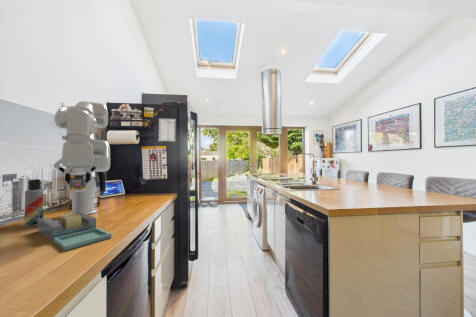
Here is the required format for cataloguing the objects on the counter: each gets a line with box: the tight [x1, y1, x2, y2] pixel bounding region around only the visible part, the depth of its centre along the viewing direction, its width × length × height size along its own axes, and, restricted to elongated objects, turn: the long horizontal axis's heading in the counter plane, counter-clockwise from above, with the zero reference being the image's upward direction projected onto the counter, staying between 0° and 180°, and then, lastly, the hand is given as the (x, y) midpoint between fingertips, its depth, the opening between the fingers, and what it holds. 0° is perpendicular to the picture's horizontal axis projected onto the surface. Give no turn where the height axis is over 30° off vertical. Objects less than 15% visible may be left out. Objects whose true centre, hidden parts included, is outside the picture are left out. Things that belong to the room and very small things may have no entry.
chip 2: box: [63, 215, 81, 228], centre depth 76 cm, size 4×4×4 cm
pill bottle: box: [68, 167, 87, 193], centre depth 83 cm, size 6×6×10 cm
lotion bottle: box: [23, 178, 44, 228], centre depth 87 cm, size 6×6×20 cm
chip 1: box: [58, 212, 76, 226], centre depth 79 cm, size 4×4×4 cm
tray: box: [53, 227, 112, 252], centre depth 70 cm, size 12×13×2 cm
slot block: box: [37, 212, 97, 243], centre depth 79 cm, size 19×13×5 cm
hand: (78, 182), depth 83 cm, fingers closed on pill bottle, 5 cm apart
